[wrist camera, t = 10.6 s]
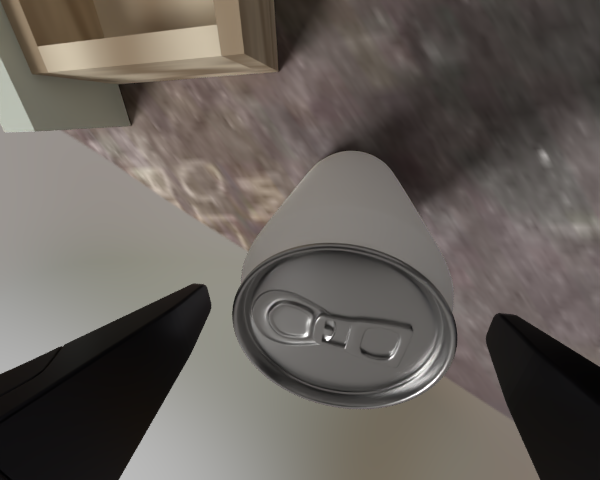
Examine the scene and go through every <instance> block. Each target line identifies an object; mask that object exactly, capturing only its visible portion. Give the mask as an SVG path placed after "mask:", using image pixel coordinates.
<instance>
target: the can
mask: <svg viewBox="0 0 600 480" xmlns="http://www.w3.org/2000/svg"><path fill="white" fill-rule="evenodd" d="M453 300H454V290H453V282H452V278H451V274H450V271H449V269H448V266H447V263H446V261H445V259H444V257H443V255H442V253H441V251H440V249H439V247H438V245H437V243H436V242H435V240H434V238H433V237H432V235H431V233H430V231H429V230H428V228H427V226H426V225H425V223H424V221H423V220H422V218H421V216H420V215H419V213H418V211H417V210H416V208H415V207H414V205H413V203H412V202H411V200H410V198H409V197H408V195H407V194H406V192H405V190H404V189H403V187H402V185H401V184H400V182H399V181H398V179H397V178H396V176H395V175H394V173H393V172H392V170H391V169H390V168H389V167H388V166H387V165H386V164H385V163H384V162H383V161H381V160H380V159H378V158H377V157H375V156H373V155H371V154H368V153H365V152H360V151H343V152H338V153H335V154H332V155H330V156H328V157H326V158H324V159H322V160H321V161H320V162H318V163H317V164H316V165H315V166H314V167H313V168H312V169H311V170H310V171H309V172H308V173H307V175H306V176H305V177H304V178H303V179H302V181H301V182H300V183H299V184H298V186H297V187H296V188H295V189H294V190H293V192H292V193H291V194H290V195H289V197H288V198H287V199H286V200H285V201H284V203H283V204H282V205H281V206H280V208H279V209H278V210H277V211H276V213H275V214H274V215H273V216H272V218H271V219H270V220H269V221H268V223H267V224H266V225H265V227H264V228H263V229H262V231H261V232H260V233H259V235H258V236H257V237H256V239H255V240H254V242H253V244H252V246H251V247H250V249H249V251H248V253H247V256H246V258H245V261H244V265H243V269H242V277H241V285H240V287H239V289H238V291H237V294H236V296H235V300H234V304H233V311H232V317H233V327H234V331H235V334H236V337H237V340H238V342H239V344H240V346H241V348H242V350H243V352H244V353H245V355H246V356H247V357H248V359H249V360H250V361H251V363H252V364H253V365H254V366H255V367H256V368H257V369H258V370H259V371H260V372H261V373H262V374H264V376H266V377H267V378H268V379H270V380H271V381H272V382H274V383H275V384H277V385H278V386H280V387H281V388H283V389H285V390H287V391H289V392H291V393H293V394H295V395H297V396H299V397H301V398H304V399H307V400H309V401H313V402H316V403H319V404H323V405H327V406H332V407H338V408H347V409H374V408H382V407H388V406H393V405H397V404H400V403H403V402H406V401H409V400H411V399H413V398H415V397H417V396H419V395H421V394H423V393H424V392H426V391H427V390H429V389H430V388H432V387H433V386H434V385H435V384H436V383H437V382H438V381H439V380H440V379H441V378H442V377H443V376H444V375H445V373H446V372H447V370H448V369H449V367H450V365H451V363H452V361H453V359H454V356H455V352H456V347H457V329H456V323H455V320H454V316H453V314H452V310H453Z"/></svg>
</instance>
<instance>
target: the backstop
mask: <svg viewBox="0 0 600 480" xmlns="http://www.w3.org/2000/svg"><path fill="white" fill-rule="evenodd" d="M0 124H1V126H2V128H3V130H4V132H32V131H51V130H68V129H86V128H104V127H121V126H131V125H130V121H129V118H128V115H127V112H126V108H125V105H124V102H123V99H122V95H121V92H120V89H119V86H118V84H111V83H103V82H94V81H86V80H78V79H69V78H61V77H53V76H45V75H36V74H32V73H31V71H30V68H29V66H28V64H27V61H26V59H25V57H24V54H23V52H22V50H21V47H20V45H19V43H18V41H17V38H16V36H15V34H14V31H13V29H12V27H11V24H10V22H9V20H8V17H7V15H6V13H5V11H4V8H3V6H2V4H1V1H0Z"/></svg>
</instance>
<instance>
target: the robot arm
mask: <svg viewBox="0 0 600 480" xmlns="http://www.w3.org/2000/svg"><path fill="white" fill-rule="evenodd" d="M210 310H211V301H210V297H209V293H208V289H207V287H206V285H204V284H191V285H189V286H187V287H185V288H183V289H181V290H179V291H177V292H174V293H172V294H170V295H168V296H166V297H164V298H162V299H160V300H158V301H155V302H153V303H151V304H149V305H147V306H145V307H143V308H141V309H139V310H136V311H134V312H132V313H130V314H128V315H126V316H124V317H122V318H120V319H117V320H116V321H113V322H111V323H109V324H107V325H105V326H103V327H101V328H99V329H96V330H94V331H92V332H90V333H88V334H86V335H84V336H82V337H79V338H77V339H75V340H73V341H71V342H69V343H67V344H65V345H64V346H63V347H62V346H61V347H58V348H56V349H54V350H52V351H50V352H48V353H46V354H44V355H41V356H39V357H37V358H35V359H33V360H31V361H28V362H26V363H24V364H22V365H20V366H18V367H16V368H13V369H11V370H9V371H6V372H4V373H2V374H0V480H119V478H120V476H121V475H122V473H123V471H124V470H125V468H126V466H127V464H128V463H129V461H130V459H131V457H132V456H133V454H134V452H135V450H136V449H137V447H138V445H139V443H140V442H141V440H142V438H143V436H144V435H145V433H146V431H147V429H148V428H149V426H150V424H151V423H152V421H153V419H154V417H155V416H156V414H157V412H158V410H159V408H160V407H161V405H162V403H163V402H164V400H165V398H166V396H167V395H168V393H169V391H170V389H171V388H172V386H173V384H174V382H175V381H176V379H177V377H178V375H179V374H180V372H181V370H182V369H183V367H184V365H185V363H186V361H187V360H188V358H189V356H190V354H191V352H192V350H193V348H194V346H195V344H196V342H197V339H198V337H199V335H200V333H201V330H202V328H203V326H204V324H205V321H206V320H207V317H208V315H209V313H210ZM486 344H487V347H488V350H489V353H490V356H491V359H492V362H493V365H494V368H495V371H496V374H497V377H498V380H499V383H500V386H501V389H502V392H503V395H504V398H505V401H506V403H507V406H508V408H509V411H510V413H511V415H512V418H513V420H514V422H515V424H516V426H517V429H518V431H519V433H520V435H521V437H522V440H523V442H524V444H525V447H526V449H527V451H528V453H529V456H530V458H531V460H532V462H533V465H534V466H535V469H536V471H537V473H538V475H539V478H540V480H600V367H599V366H598V365H596V364H594V363H593V362H591V361H589V360H588V359H586V358H585V357H583V356H581V355H580V354H578V353H577V352H575V351H573V350H572V349H570V348H568V347H567V346H565V345H564V344H562V343H560V342H559V341H557V340H556V339H554V338H552V337H551V336H549V335H547V334H546V333H544V332H543V331H541V330H539V329H538V328H536V327H535V326H533V325H531V324H530V323H528V322H526V321H525V320H523V319H522V318H520V317H518V316H517V315H513V314H503V313H498V314H496V315H495V316H494V317H493V320H492V322H491V325H490V327H489V330H488V332H487V335H486Z"/></svg>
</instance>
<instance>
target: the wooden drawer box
mask: <svg viewBox="0 0 600 480" xmlns="http://www.w3.org/2000/svg"><path fill="white" fill-rule="evenodd" d="M0 1H1V4H2V6H3V8H4V11H5V13H6V15H7V17H8V20H9V22H10V24H11V27H12V29H13V31H14V34H15V36H16V38H17V41H18V43H19V45H20V47H21V50H22V52H23V54H24V57H25V59H26V61H27V64H28V66H29V68H30V71H31V73H32V74H36V75H45V76H53V77H61V78H69V79H78V80H86V81H94V82H103V83H111V84H129V83H142V82H155V81H168V80H180V79H193V78H206V77H219V76H232V75H244V74H257V73H270V72H279V71H278V55H277V39H276V23H275V7H274V0H0Z"/></svg>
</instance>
